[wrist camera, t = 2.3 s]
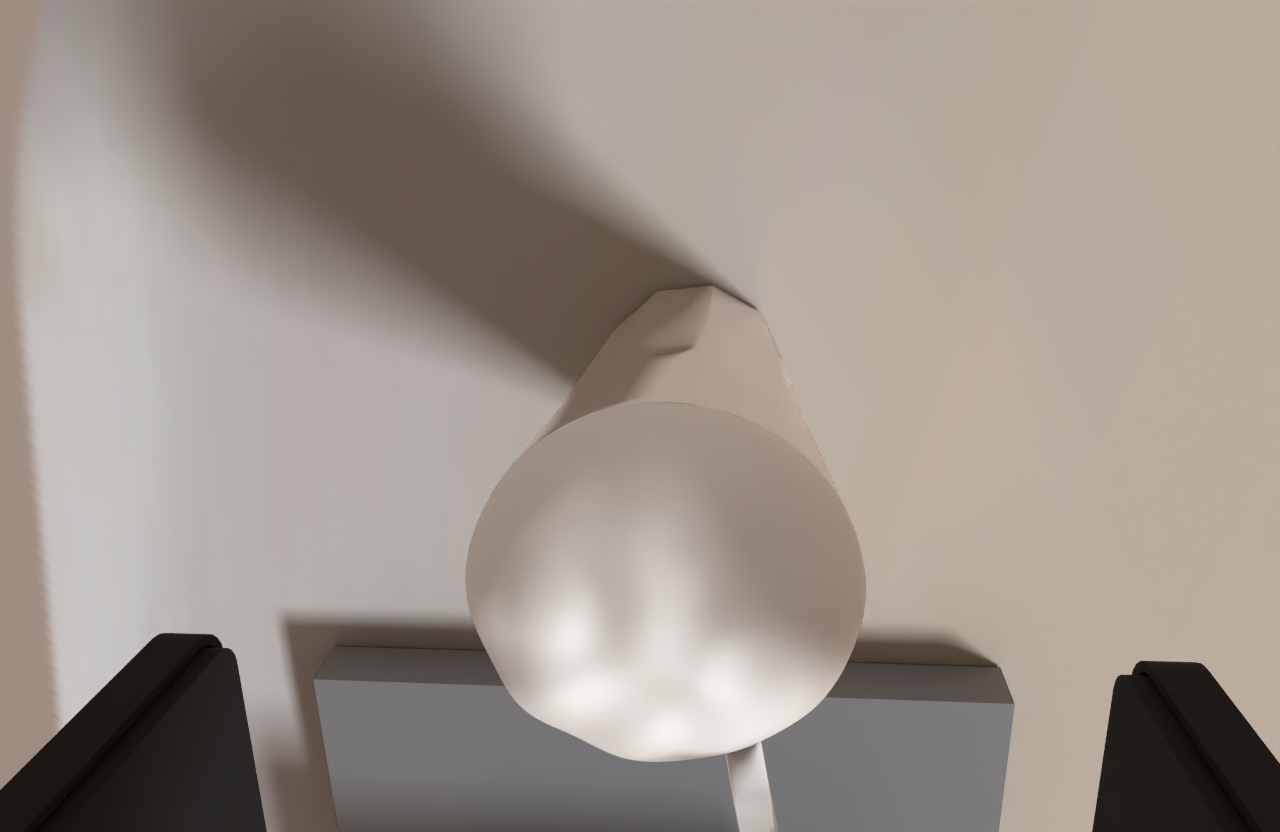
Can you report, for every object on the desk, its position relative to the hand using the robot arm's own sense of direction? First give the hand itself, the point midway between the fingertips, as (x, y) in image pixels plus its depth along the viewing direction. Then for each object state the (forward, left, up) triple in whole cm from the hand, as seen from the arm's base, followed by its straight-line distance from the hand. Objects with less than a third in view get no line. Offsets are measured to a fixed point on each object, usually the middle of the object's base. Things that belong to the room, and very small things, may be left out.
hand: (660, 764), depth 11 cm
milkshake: (-1, 0, -10) cm, 10 cm away
